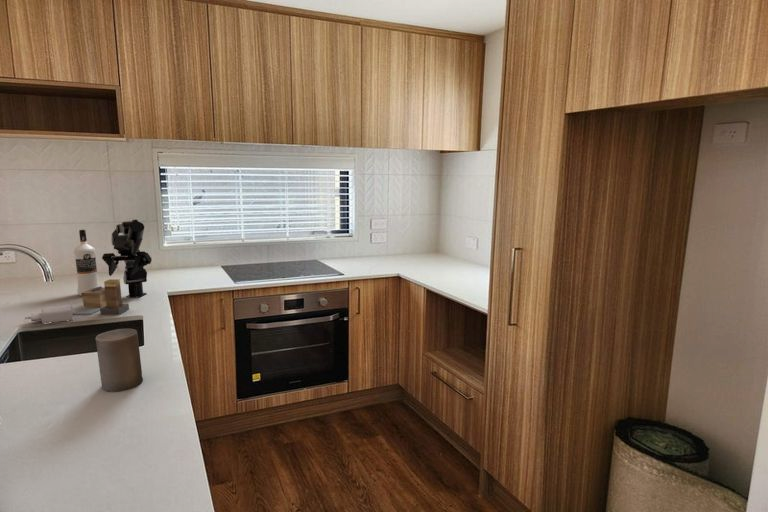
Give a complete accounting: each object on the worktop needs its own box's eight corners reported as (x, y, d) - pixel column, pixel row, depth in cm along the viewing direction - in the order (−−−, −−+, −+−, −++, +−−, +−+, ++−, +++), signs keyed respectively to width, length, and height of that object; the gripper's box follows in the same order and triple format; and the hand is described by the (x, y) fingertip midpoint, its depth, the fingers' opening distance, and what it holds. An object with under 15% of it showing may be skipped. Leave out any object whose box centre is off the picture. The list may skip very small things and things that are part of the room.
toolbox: (96, 302, 212) (94, 285, 211) (114, 302, 212) (112, 285, 211) (82, 308, 203) (80, 290, 201) (101, 308, 203) (99, 290, 201)
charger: (26, 321, 186) (73, 315, 194) (24, 328, 179) (73, 321, 186) (24, 309, 186) (71, 303, 193) (22, 315, 178) (71, 309, 186)
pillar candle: (149, 376, 134) (143, 323, 132) (132, 391, 124) (125, 334, 122) (113, 377, 134) (106, 324, 131) (93, 393, 124) (86, 336, 122)
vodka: (100, 290, 234) (93, 228, 229) (101, 294, 226) (94, 229, 221) (77, 293, 229) (69, 229, 224) (78, 297, 221) (70, 231, 216)
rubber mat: (83, 309, 202) (83, 308, 202) (103, 309, 202) (103, 307, 202) (71, 314, 194) (71, 313, 194) (91, 314, 194) (91, 313, 194)
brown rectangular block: (113, 310, 199) (109, 279, 197) (122, 310, 199) (119, 279, 197) (107, 313, 195) (103, 281, 193) (117, 313, 195) (114, 281, 193)
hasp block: (111, 309, 201) (110, 303, 201) (129, 309, 201) (128, 303, 200) (100, 314, 194) (100, 308, 193) (119, 314, 194) (118, 308, 193)
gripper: (101, 234, 206) (88, 264, 196) (144, 232, 205) (133, 261, 196) (114, 251, 215) (102, 280, 205) (156, 248, 214) (146, 278, 204)
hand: (120, 274), depth 202 cm, fingers open, 9 cm apart
